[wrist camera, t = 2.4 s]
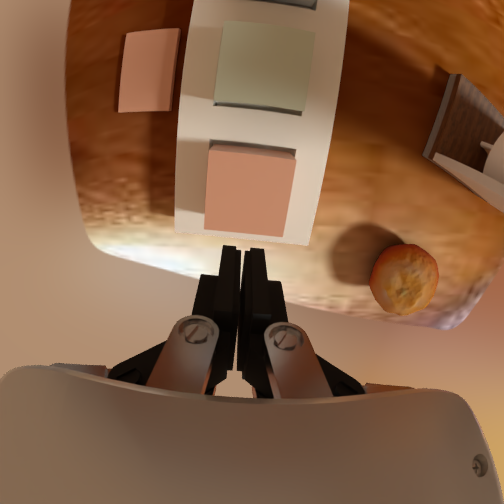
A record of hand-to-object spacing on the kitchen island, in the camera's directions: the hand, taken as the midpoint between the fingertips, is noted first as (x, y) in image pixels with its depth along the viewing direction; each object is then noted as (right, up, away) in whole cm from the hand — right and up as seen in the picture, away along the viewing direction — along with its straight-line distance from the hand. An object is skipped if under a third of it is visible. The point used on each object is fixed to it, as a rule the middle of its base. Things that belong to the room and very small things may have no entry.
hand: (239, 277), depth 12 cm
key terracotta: (0, +7, +10) cm, 12 cm away
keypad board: (+1, +16, +8) cm, 18 cm away
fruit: (+17, 0, +18) cm, 25 cm away
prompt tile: (-9, +17, +8) cm, 21 cm away
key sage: (+1, +15, +6) cm, 16 cm away
